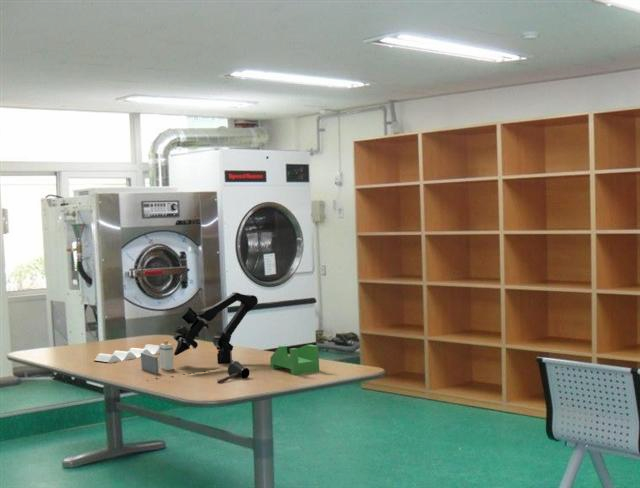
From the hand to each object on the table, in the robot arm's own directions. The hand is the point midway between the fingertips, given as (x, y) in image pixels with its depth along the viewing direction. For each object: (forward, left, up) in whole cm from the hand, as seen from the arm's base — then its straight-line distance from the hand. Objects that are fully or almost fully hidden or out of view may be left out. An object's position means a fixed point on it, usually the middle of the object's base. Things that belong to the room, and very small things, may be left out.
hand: (174, 354), depth 415 cm
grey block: (+5, +4, -7) cm, 10 cm away
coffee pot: (-35, +29, -8) cm, 46 cm away
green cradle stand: (-61, +9, -8) cm, 62 cm away
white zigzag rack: (+42, -43, -8) cm, 61 cm away
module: (+3, +3, -6) cm, 7 cm away
